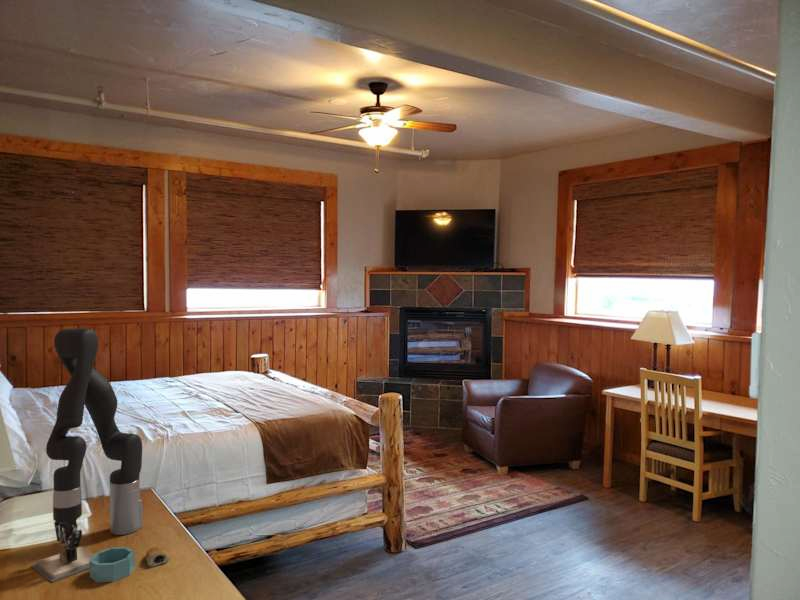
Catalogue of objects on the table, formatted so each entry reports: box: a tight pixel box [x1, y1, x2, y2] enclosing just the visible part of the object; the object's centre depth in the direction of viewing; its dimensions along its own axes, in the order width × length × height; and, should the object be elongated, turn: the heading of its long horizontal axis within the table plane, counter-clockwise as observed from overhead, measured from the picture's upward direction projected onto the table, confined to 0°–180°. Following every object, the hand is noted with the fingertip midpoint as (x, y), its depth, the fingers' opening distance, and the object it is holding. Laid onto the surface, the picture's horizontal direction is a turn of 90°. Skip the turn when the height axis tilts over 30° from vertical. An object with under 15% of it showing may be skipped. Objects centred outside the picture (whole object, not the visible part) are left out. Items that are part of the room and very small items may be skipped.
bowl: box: [89, 546, 136, 583], centre depth 173 cm, size 11×11×5 cm
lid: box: [35, 542, 95, 579], centre depth 177 cm, size 13×13×6 cm
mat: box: [30, 550, 91, 584], centre depth 177 cm, size 15×15×1 cm
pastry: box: [144, 546, 171, 568], centre depth 181 cm, size 9×7×4 cm
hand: (68, 558), depth 177 cm, fingers closed on lid, 3 cm apart
